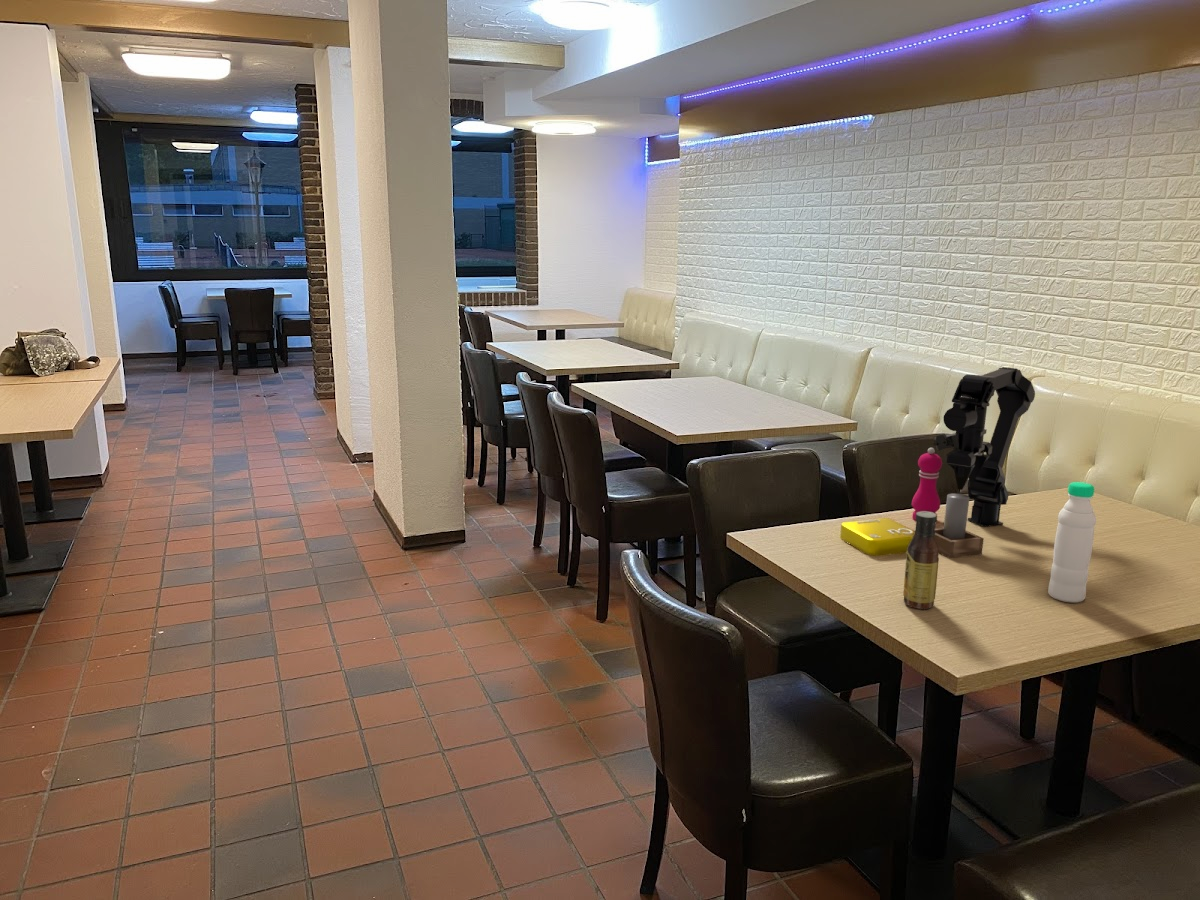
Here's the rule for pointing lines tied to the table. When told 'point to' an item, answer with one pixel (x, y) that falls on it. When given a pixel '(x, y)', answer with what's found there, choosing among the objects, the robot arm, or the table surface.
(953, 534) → the charcoal canister
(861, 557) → the table surface
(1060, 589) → the water bottle
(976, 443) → the robot arm
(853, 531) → the element tile
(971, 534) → the walnut socket
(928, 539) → the sauce bottle
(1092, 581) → the table surface
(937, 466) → the pepper mill
